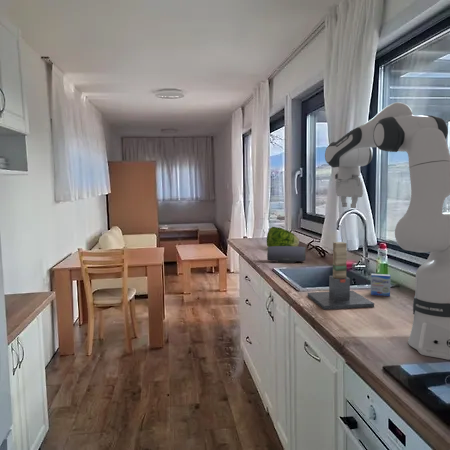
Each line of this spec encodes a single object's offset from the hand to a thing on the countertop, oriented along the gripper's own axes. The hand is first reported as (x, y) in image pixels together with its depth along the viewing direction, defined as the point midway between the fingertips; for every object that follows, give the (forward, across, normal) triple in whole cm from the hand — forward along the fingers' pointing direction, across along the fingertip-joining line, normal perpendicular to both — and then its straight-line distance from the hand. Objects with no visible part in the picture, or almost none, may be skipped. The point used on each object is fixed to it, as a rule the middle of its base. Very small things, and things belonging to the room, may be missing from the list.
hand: (348, 207), depth 183 cm
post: (+29, -13, +9) cm, 33 cm away
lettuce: (+38, +122, -3) cm, 128 cm away
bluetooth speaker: (+38, +75, +7) cm, 84 cm away
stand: (+37, -13, +9) cm, 40 cm away
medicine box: (+38, -5, -12) cm, 40 cm away
